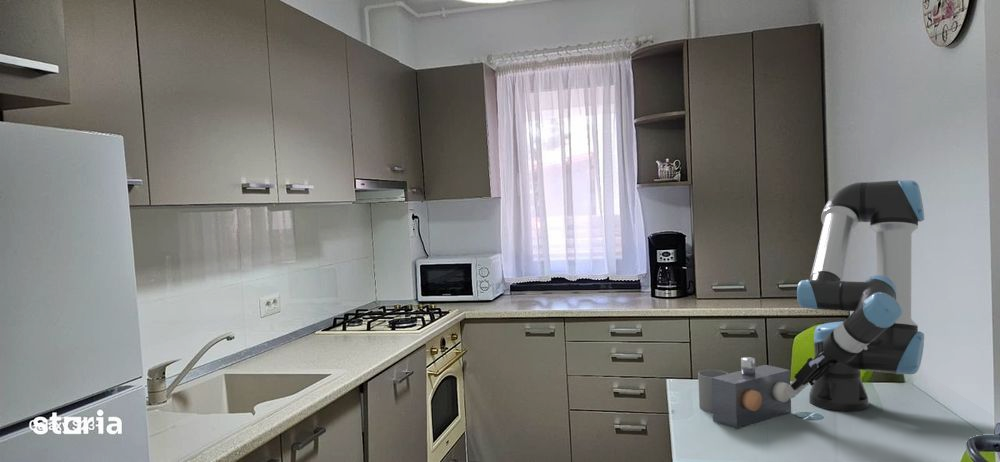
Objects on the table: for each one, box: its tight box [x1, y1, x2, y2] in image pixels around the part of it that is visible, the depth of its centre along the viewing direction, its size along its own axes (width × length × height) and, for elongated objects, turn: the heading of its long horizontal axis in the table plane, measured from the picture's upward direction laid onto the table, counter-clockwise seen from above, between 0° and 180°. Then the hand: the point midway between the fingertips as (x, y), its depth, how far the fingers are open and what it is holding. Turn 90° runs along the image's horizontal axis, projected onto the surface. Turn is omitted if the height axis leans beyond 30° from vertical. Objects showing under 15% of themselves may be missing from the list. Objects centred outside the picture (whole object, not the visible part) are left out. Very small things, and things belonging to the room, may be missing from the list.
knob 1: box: [742, 389, 762, 411], centre depth 175 cm, size 10×5×5 cm, turn 30°
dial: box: [740, 356, 756, 375], centre depth 180 cm, size 4×4×4 cm
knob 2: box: [772, 382, 790, 402], centre depth 181 cm, size 10×5×5 cm, turn 30°
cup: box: [697, 369, 729, 413], centre depth 189 cm, size 8×8×10 cm
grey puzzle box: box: [712, 364, 792, 430], centre depth 179 cm, size 8×22×12 cm, turn 120°
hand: (788, 393), depth 176 cm, fingers closed
